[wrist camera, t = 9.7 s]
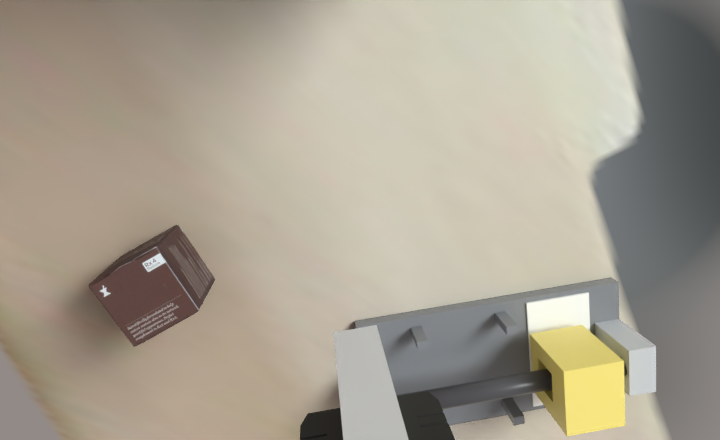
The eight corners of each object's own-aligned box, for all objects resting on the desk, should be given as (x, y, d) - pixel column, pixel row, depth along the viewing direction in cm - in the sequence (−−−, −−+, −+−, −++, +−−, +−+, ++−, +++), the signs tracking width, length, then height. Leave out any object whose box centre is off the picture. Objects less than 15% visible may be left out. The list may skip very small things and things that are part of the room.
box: (158, 311, 48) (132, 349, 41) (119, 255, 46) (85, 285, 39) (217, 279, 48) (201, 311, 40) (180, 222, 46) (156, 246, 39)
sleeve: (529, 333, 49) (563, 371, 42) (582, 324, 49) (623, 360, 42) (533, 391, 50) (566, 436, 44) (584, 381, 51) (625, 425, 44)
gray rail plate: (354, 321, 50) (361, 356, 43) (611, 277, 51) (655, 305, 44) (371, 431, 53) (380, 479, 46) (613, 387, 54) (655, 428, 47)
